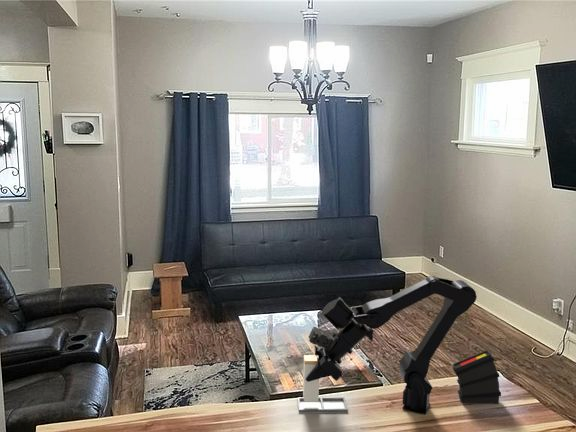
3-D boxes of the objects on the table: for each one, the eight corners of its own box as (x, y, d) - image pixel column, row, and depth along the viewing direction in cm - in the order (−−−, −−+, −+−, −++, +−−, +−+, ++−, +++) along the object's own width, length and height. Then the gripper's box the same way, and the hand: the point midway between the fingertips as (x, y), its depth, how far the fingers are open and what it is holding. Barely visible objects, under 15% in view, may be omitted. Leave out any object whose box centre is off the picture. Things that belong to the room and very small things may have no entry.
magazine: (511, 399, 165) (492, 354, 163) (468, 416, 167) (448, 372, 165) (506, 393, 169) (487, 349, 167) (464, 410, 170) (445, 366, 168)
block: (317, 394, 164) (318, 354, 162) (318, 401, 160) (319, 360, 158) (303, 395, 163) (303, 355, 161) (304, 401, 160) (304, 361, 157)
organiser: (344, 402, 166) (344, 397, 166) (347, 414, 159) (348, 409, 159) (297, 402, 165) (297, 397, 165) (298, 414, 159) (298, 409, 158)
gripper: (323, 308, 167) (284, 344, 168) (330, 332, 149) (287, 372, 150) (349, 333, 169) (311, 369, 170) (359, 360, 150) (316, 400, 152)
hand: (306, 376), depth 160 cm, fingers closed on block, 4 cm apart
